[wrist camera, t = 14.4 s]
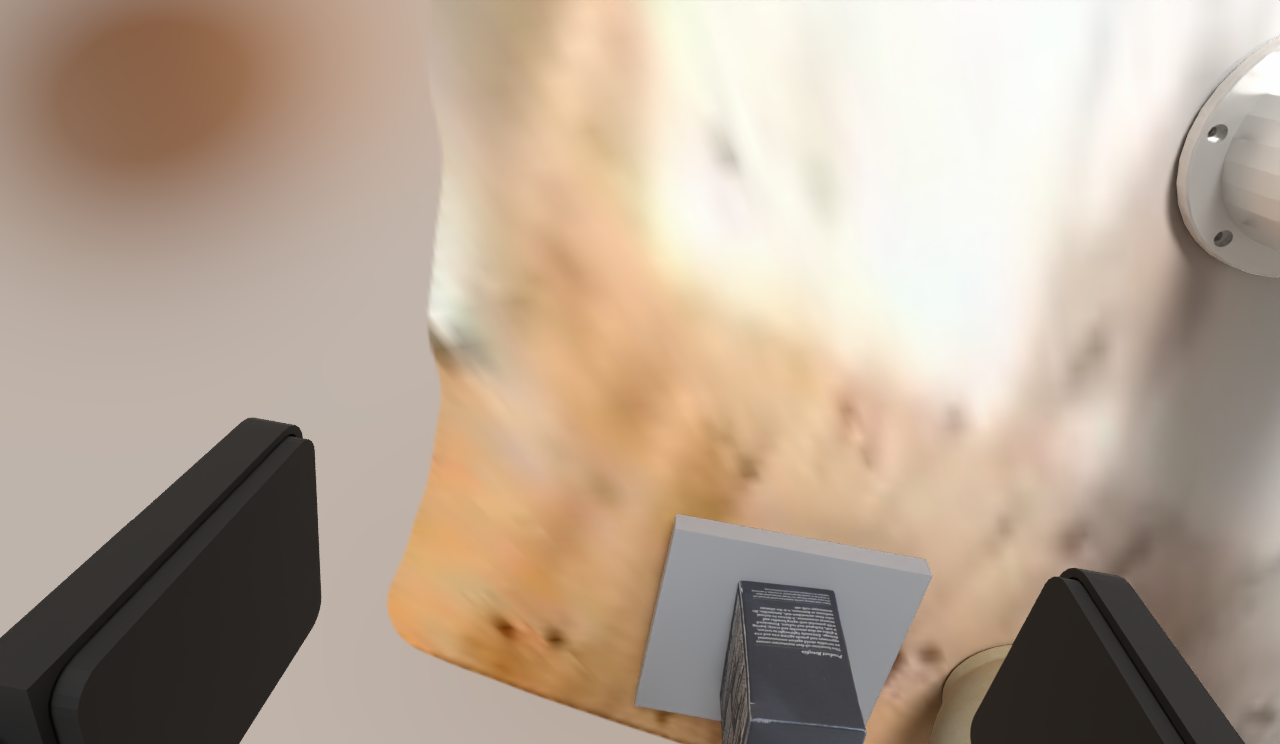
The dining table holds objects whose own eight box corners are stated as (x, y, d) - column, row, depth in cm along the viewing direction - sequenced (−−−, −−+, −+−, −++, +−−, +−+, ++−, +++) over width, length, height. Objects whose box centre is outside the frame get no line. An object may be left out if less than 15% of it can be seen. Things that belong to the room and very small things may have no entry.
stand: (916, 534, 49) (932, 575, 46) (847, 699, 56) (856, 746, 53) (677, 490, 49) (675, 528, 46) (639, 660, 56) (634, 705, 53)
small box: (812, 705, 51) (835, 861, 42) (718, 694, 52) (719, 847, 42) (840, 588, 47) (874, 735, 37) (736, 577, 47) (743, 720, 38)
